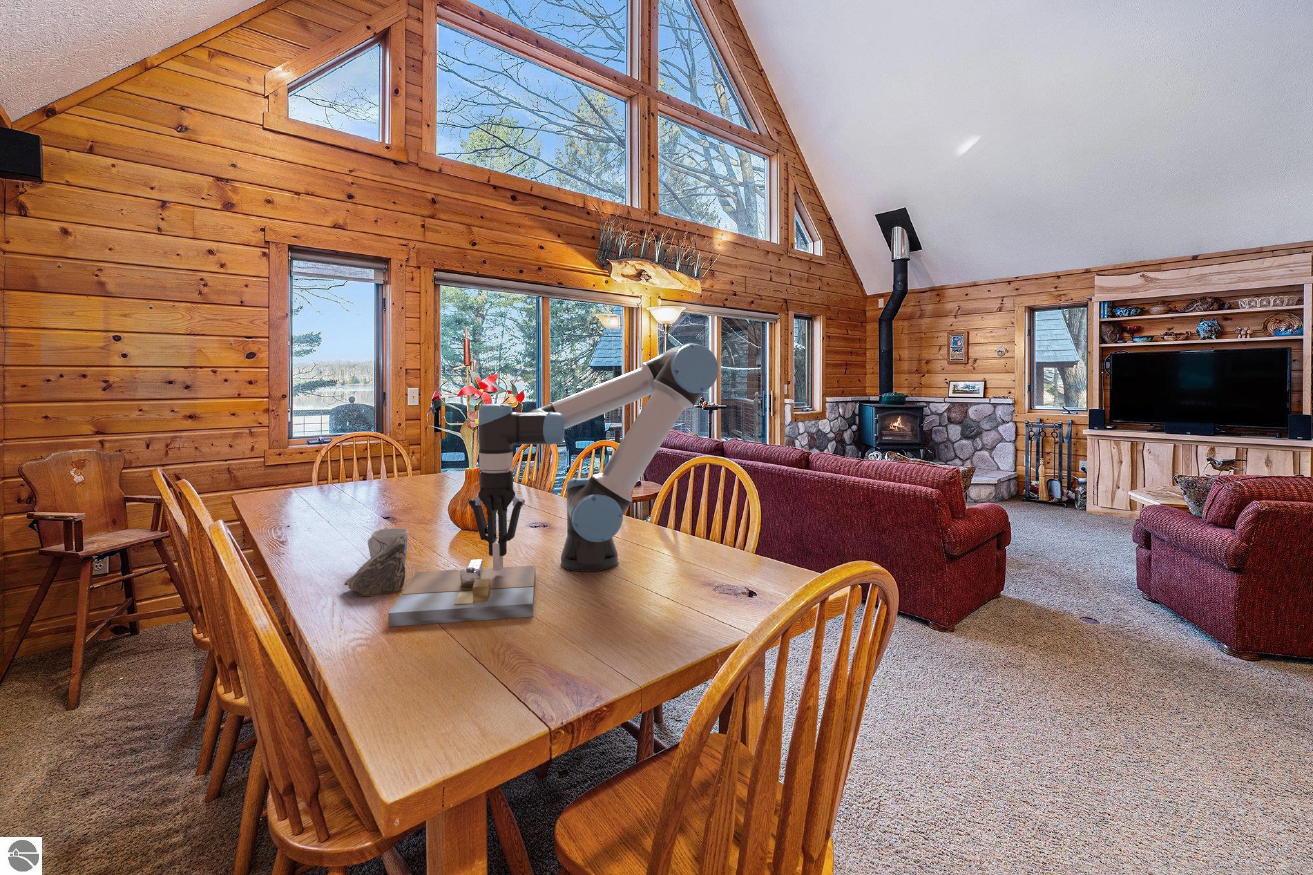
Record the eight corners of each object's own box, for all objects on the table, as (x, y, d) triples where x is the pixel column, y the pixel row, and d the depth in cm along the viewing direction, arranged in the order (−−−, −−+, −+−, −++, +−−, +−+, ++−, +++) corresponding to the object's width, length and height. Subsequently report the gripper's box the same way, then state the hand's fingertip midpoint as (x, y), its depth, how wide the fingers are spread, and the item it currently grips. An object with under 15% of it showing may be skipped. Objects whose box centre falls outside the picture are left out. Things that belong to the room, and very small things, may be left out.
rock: (346, 592, 130) (369, 526, 136) (340, 592, 136) (362, 528, 142) (401, 603, 136) (421, 539, 142) (392, 602, 142) (412, 541, 148)
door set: (535, 576, 147) (535, 553, 146) (532, 616, 122) (532, 588, 121) (417, 583, 142) (416, 559, 141) (388, 626, 117) (387, 597, 116)
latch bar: (479, 586, 131) (479, 571, 131) (459, 587, 130) (458, 572, 130) (486, 566, 145) (485, 553, 144) (467, 568, 144) (467, 554, 144)
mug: (356, 571, 151) (355, 533, 150) (383, 562, 159) (381, 525, 158) (390, 577, 146) (389, 537, 145) (416, 567, 154) (414, 529, 153)
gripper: (528, 468, 140) (529, 564, 143) (475, 467, 141) (477, 563, 144) (518, 473, 133) (520, 575, 135) (462, 472, 134) (465, 573, 136)
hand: (498, 568), depth 139 cm, fingers closed
